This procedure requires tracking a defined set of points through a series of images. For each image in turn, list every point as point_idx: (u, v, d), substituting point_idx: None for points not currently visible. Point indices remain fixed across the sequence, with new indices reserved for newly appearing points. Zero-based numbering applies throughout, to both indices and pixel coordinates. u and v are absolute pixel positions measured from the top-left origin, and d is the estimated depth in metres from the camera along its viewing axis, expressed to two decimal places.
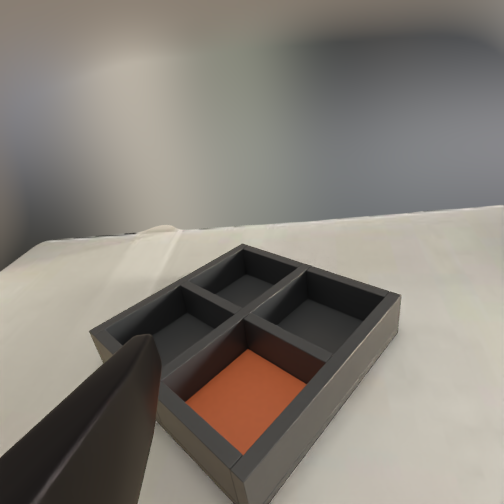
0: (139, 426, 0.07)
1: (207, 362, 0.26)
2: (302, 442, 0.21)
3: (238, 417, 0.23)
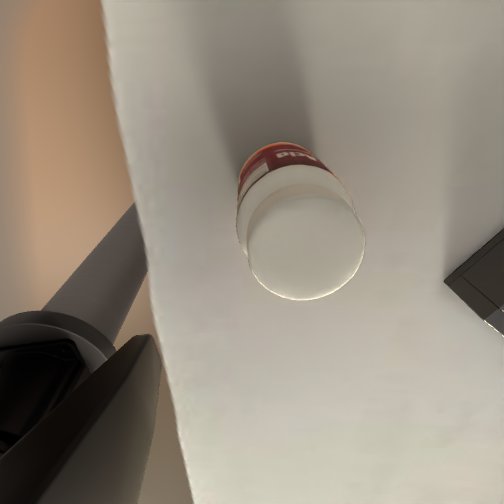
0: (139, 426, 0.07)
1: None
2: None
3: None
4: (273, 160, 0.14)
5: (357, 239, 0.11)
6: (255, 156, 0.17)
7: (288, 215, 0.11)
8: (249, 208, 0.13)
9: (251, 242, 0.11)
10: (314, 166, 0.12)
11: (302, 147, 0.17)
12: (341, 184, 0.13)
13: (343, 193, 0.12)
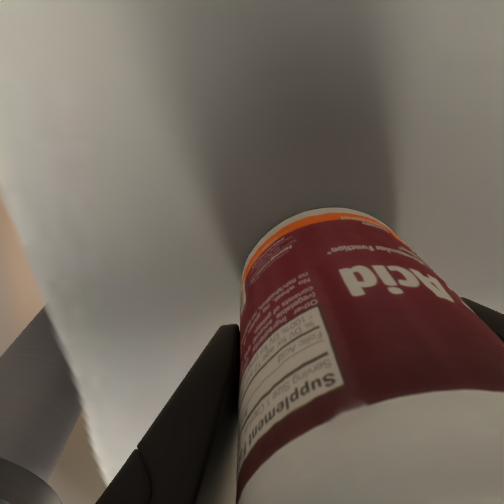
0: None
1: None
2: None
3: None
4: (341, 308, 0.05)
5: None
6: (279, 247, 0.08)
7: None
8: None
9: None
10: None
11: (377, 222, 0.08)
12: None
13: None
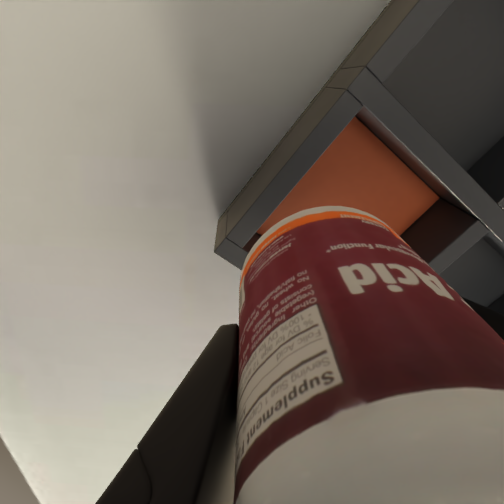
0: None
1: (407, 157, 0.16)
2: None
3: (322, 199, 0.19)
4: (340, 306, 0.05)
5: None
6: (278, 245, 0.07)
7: None
8: None
9: None
10: None
11: (376, 220, 0.08)
12: None
13: None
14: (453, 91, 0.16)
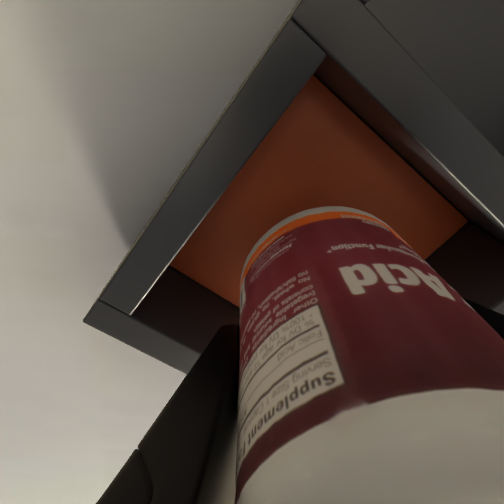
0: None
1: (417, 158, 0.09)
2: None
3: None
4: (341, 306, 0.05)
5: None
6: (279, 245, 0.07)
7: None
8: None
9: None
10: None
11: (377, 220, 0.08)
12: None
13: None
14: (497, 43, 0.10)
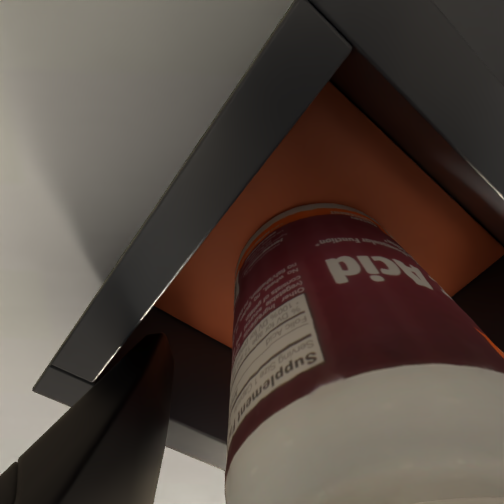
0: (154, 424, 0.07)
1: (459, 183, 0.07)
2: None
3: None
4: (325, 294, 0.05)
5: None
6: (271, 240, 0.08)
7: None
8: (262, 497, 0.04)
9: None
10: (479, 366, 0.04)
11: (365, 217, 0.08)
12: None
13: None
14: None
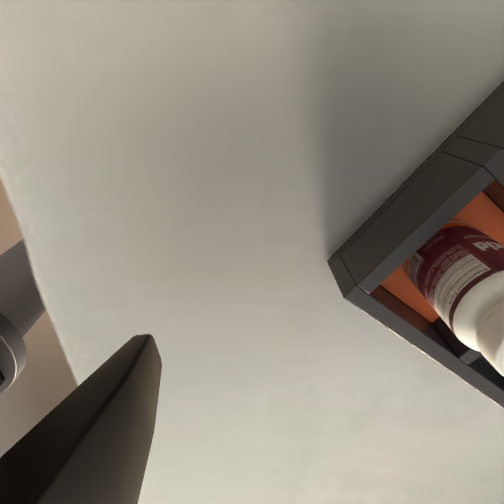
0: (139, 426, 0.07)
1: None
2: None
3: None
4: (480, 253, 0.16)
5: None
6: (436, 236, 0.19)
7: None
8: (477, 303, 0.15)
9: None
10: None
11: (472, 226, 0.19)
12: None
13: None
14: None
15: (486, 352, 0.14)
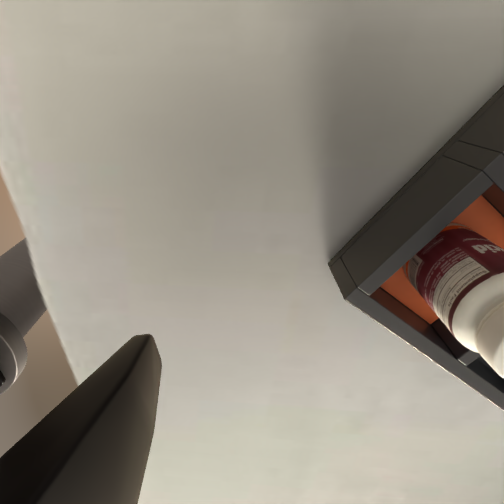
0: (139, 426, 0.07)
1: None
2: None
3: None
4: (479, 256, 0.16)
5: None
6: (435, 239, 0.19)
7: None
8: (476, 305, 0.15)
9: (503, 343, 0.14)
10: None
11: (471, 229, 0.20)
12: None
13: None
14: None
15: (485, 353, 0.15)
